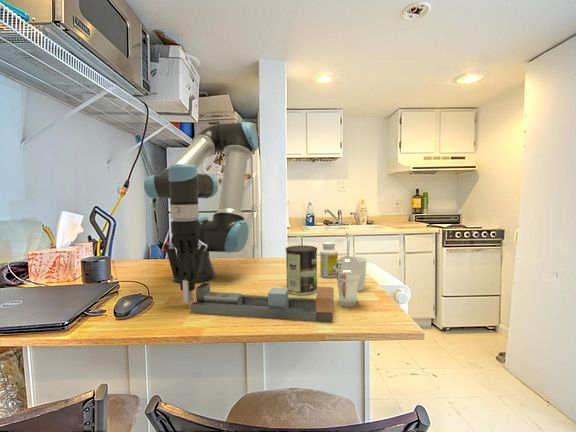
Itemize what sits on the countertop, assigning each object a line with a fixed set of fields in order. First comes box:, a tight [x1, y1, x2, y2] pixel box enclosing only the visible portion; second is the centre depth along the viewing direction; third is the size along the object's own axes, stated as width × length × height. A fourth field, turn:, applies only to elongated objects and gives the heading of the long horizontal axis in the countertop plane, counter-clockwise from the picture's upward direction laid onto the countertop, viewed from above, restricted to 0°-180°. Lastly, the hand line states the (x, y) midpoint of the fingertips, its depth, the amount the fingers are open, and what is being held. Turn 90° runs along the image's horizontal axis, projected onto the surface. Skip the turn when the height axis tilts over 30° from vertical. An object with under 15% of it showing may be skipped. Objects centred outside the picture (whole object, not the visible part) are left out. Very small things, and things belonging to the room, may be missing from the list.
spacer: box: [267, 287, 290, 308], centre depth 80 cm, size 5×5×6 cm
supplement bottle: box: [319, 241, 339, 279], centre depth 114 cm, size 7×7×13 cm
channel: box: [190, 286, 335, 323], centre depth 81 cm, size 38×9×6 cm, turn 79°
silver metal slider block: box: [195, 282, 243, 305], centre depth 84 cm, size 12×4×6 cm, turn 79°
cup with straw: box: [333, 232, 363, 308], centre depth 85 cm, size 8×9×20 cm
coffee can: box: [285, 245, 318, 296], centre depth 98 cm, size 10×10×14 cm
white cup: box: [352, 256, 367, 292], centre depth 99 cm, size 8×8×10 cm
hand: (188, 301), depth 85 cm, fingers closed
